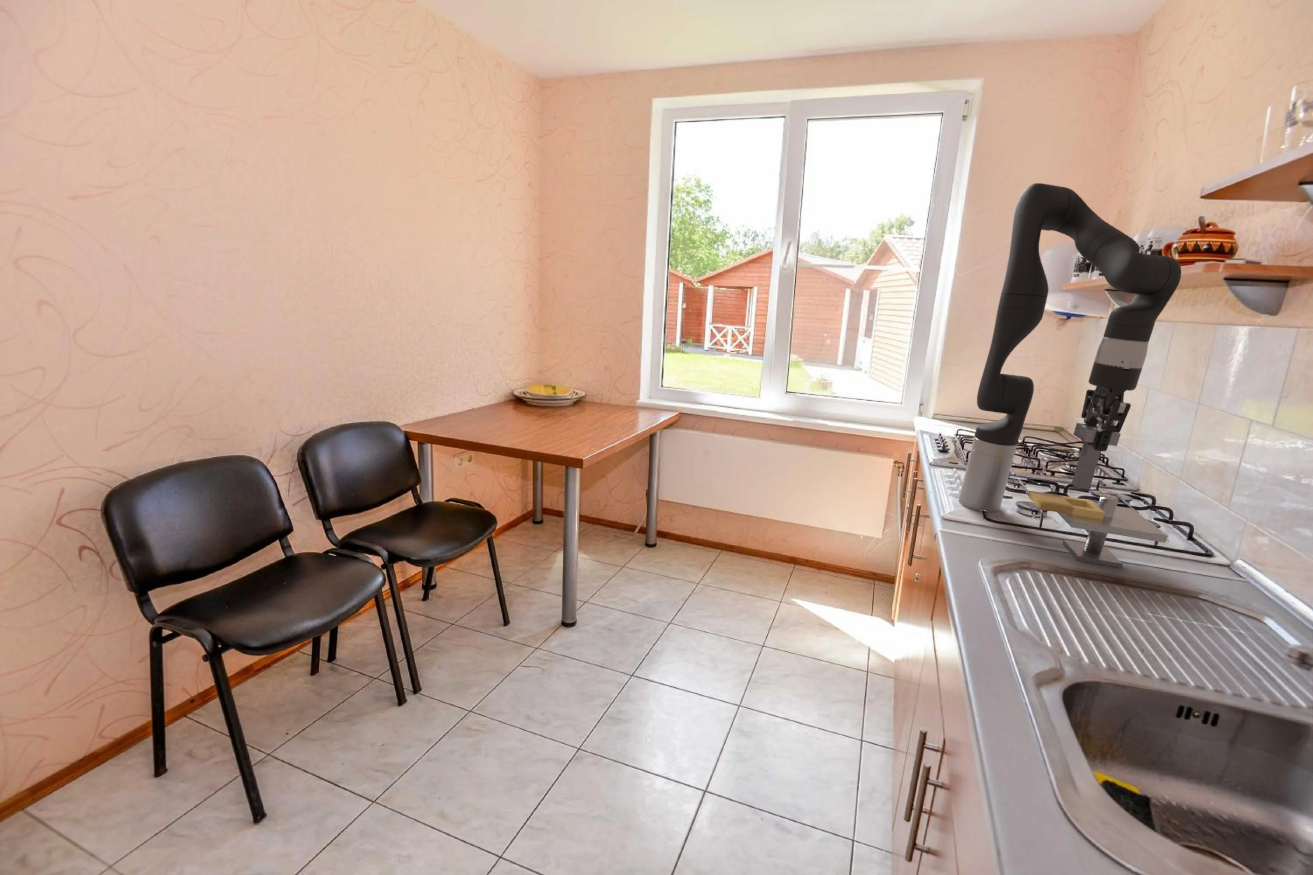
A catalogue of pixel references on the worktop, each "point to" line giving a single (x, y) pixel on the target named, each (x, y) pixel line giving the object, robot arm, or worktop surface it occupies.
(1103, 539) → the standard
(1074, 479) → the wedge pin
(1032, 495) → the bracket
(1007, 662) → the worktop surface
